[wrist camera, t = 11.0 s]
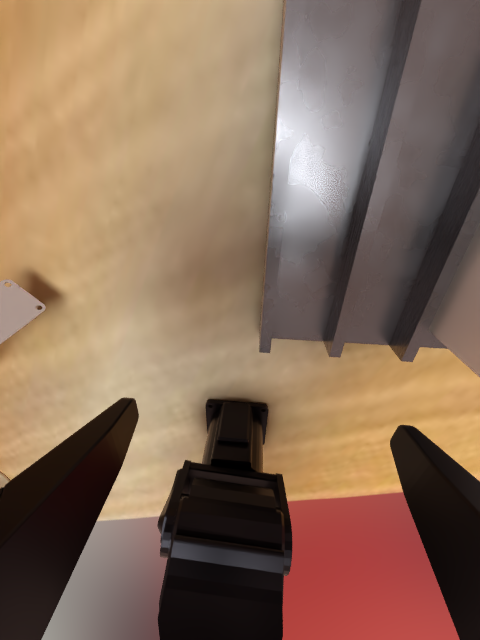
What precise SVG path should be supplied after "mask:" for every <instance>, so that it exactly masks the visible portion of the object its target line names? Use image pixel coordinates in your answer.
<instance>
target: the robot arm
mask: <svg viewBox="0 0 480 640" xmlns="http://www.w3.org/2000/svg"><path fill="white" fill-rule="evenodd" d="M138 417H139V414H138V409H137V404H136V400H135V399H134V398H121V399H120V400H118V401H117V402H116V403H114V404H113V405H112V406H110V407H109V408H108V409H106V410H105V411H103V412H102V413H101V414H99V415H98V416H97V417H95V418H94V419H93V420H91V421H90V422H89V423H87V424H86V425H85V426H83V427H82V428H81V429H79V430H78V431H77V432H75V433H74V434H73V435H71V436H70V437H69V438H67V439H66V440H64V441H63V442H62V443H60V444H59V445H58V446H56V447H55V448H54V449H52V450H51V451H50V452H48V453H47V454H46V455H44V456H43V457H42V458H40V459H39V460H38V461H36V462H35V463H34V464H32V465H31V466H30V467H28V468H27V469H25V470H24V471H23V472H21V473H20V474H19V475H17V476H16V477H15V478H13V479H12V480H11V481H9V482H8V483H7V484H5V486H4V487H1V488H0V640H41V639H42V637H43V635H44V632H45V630H46V628H47V626H48V624H49V622H50V620H51V617H52V615H53V613H54V611H55V609H56V607H57V605H58V602H59V600H60V598H61V596H62V594H63V592H64V590H65V587H66V585H67V583H68V581H69V579H70V577H71V574H72V572H73V570H74V568H75V566H76V564H77V561H78V559H79V557H80V555H81V553H82V551H83V549H84V546H85V544H86V542H87V540H88V538H89V536H90V534H91V532H92V529H93V527H94V525H95V523H96V521H97V519H98V517H99V514H100V512H101V510H102V508H103V506H104V504H105V501H106V499H107V497H108V495H109V493H110V491H111V489H112V486H113V484H114V482H115V480H116V478H117V476H118V474H119V471H120V469H121V467H122V464H123V462H124V459H125V456H126V453H127V450H128V448H129V445H130V442H131V439H132V436H133V433H134V430H135V428H136V425H137V422H138ZM267 417H268V406H267V405H266V404H260V403H246V402H233V401H219V400H208V401H207V402H206V418H207V432H208V436H207V441H206V445H205V450H204V455H203V460H202V464H201V463H194V462H191V461H189V460H185V462H184V465H183V468H182V469H180V470H178V471H177V474H176V477H175V481H174V484H173V487H172V490H171V493H170V495H169V497H168V500H167V502H166V504H165V506H164V508H163V511H162V513H161V515H160V517H159V521H158V529H159V531H160V533H161V549H160V557H163V558H168V560H167V565H166V570H165V576H164V580H163V585H162V590H161V595H160V601H159V615H158V626H159V635H160V640H282V637H283V619H282V616H283V615H282V606H283V605H282V604H283V578H284V575H285V576H287V575H288V574H289V572H290V567H291V559H292V529H291V521H290V515H289V509H288V504H287V498H286V493H285V487H284V482H283V476H282V474H277V473H276V474H269V473H263V445H264V442H265V434H266V425H267ZM390 447H391V450H392V454H393V458H394V461H395V465H396V468H397V472H398V475H399V479H400V482H401V486H402V489H403V492H404V495H405V498H406V501H407V504H408V506H409V509H410V512H411V514H412V517H413V519H414V522H415V525H416V527H417V530H418V532H419V535H420V538H421V540H422V543H423V545H424V548H425V551H426V553H427V556H428V558H429V561H430V563H431V566H432V569H433V571H434V574H435V576H436V579H437V582H438V584H439V587H440V589H441V592H442V595H443V597H444V600H445V602H446V605H447V607H448V610H449V612H450V615H451V618H452V620H453V623H454V626H455V628H456V631H457V633H458V636H459V639H460V640H480V481H478V480H477V479H476V478H475V477H474V476H472V475H471V474H470V473H469V472H468V471H467V470H465V469H464V468H463V467H462V466H461V465H459V464H458V463H457V462H456V461H455V460H453V459H452V458H451V457H450V456H449V455H448V454H446V453H445V452H444V451H443V450H442V449H440V448H439V447H438V446H437V445H436V444H434V443H433V442H432V441H431V440H430V439H429V438H427V437H426V436H425V435H424V434H423V433H421V432H420V431H419V430H418V429H417V428H415V427H413V426H409V425H400V426H398V428H397V429H396V431H395V433H394V434H393V436H392V438H391V440H390Z"/></svg>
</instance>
